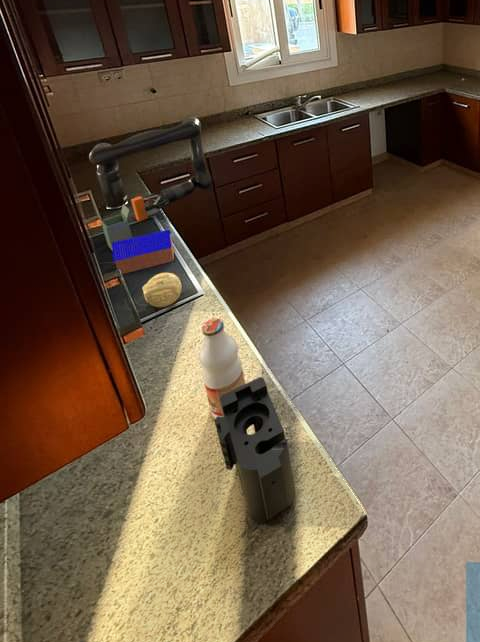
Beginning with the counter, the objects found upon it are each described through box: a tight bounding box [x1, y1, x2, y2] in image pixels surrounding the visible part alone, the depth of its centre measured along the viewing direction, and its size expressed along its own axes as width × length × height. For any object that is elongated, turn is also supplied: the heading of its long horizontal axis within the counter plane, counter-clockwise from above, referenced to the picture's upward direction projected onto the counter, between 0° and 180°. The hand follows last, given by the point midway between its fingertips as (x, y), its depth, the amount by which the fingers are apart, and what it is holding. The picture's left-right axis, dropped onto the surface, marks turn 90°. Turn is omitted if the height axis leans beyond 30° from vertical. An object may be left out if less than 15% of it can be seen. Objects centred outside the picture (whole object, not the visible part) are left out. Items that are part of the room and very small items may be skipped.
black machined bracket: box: [214, 376, 296, 526], centre depth 92 cm, size 12×21×22 cm, turn 34°
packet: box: [130, 195, 149, 222], centre depth 205 cm, size 4×3×11 cm
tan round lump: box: [142, 272, 183, 308], centre depth 151 cm, size 12×12×11 cm
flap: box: [120, 204, 131, 220], centre depth 184 cm, size 8×4×1 cm
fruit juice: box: [198, 317, 246, 420], centre depth 110 cm, size 9×9×28 cm
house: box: [112, 229, 175, 275], centre depth 174 cm, size 12×20×12 cm, turn 117°
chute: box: [101, 213, 133, 252], centre depth 184 cm, size 8×8×12 cm
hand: (140, 207), depth 205 cm, fingers open, 8 cm apart
